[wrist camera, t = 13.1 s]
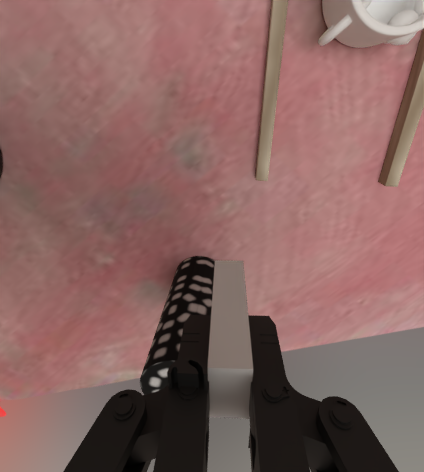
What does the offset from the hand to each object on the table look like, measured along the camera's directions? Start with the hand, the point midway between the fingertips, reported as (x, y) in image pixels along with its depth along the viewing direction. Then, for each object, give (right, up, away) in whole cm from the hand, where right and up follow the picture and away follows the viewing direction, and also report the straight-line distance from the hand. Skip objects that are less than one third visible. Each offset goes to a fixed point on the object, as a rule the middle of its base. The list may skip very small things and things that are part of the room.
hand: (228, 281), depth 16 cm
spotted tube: (-3, -4, +32) cm, 33 cm away
